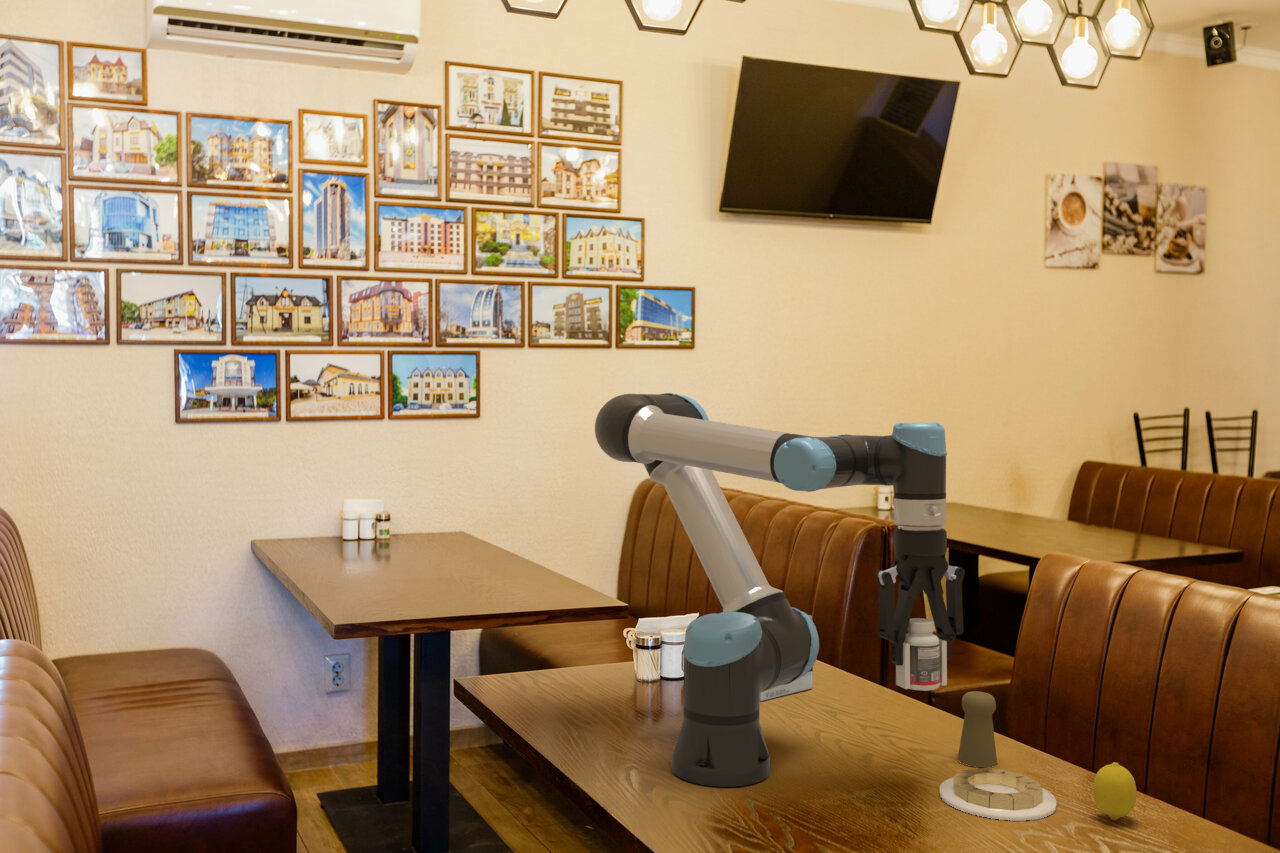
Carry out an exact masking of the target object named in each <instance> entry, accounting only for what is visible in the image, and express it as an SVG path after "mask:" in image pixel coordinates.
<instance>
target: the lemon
mask: <svg viewBox="0 0 1280 853" xmlns="http://www.w3.org/2000/svg"><path fill="white" fill-rule="evenodd" d="M1137 794H1138V793H1137V786H1136V781H1135V778H1134V777H1133V775H1132V774H1131V772H1130V771H1129V770H1128V769H1127V768H1126V767H1124V766H1122V765H1120V764H1119V762H1115V761H1113V762H1112V763H1111V764H1106V765H1104V766H1103V767H1101V768H1100V769H1099V770H1098V771H1097V773H1096V775H1095V776H1094V780H1093V784H1092V795H1093V800H1094V801H1095V805H1096V806H1097V808H1098V809H1099V810H1100V812H1102V813H1103V814H1105V815H1107V816H1108V817H1109V818H1110V819H1111V820H1112V821H1118V819H1119V818H1121V817H1125V816H1127V815H1129V814H1130V813H1131V812H1132V811H1133V809H1134V808H1135V806H1136V802H1137Z"/></svg>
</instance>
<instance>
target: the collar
mask: <svg viewBox="0 0 1280 853" xmlns="http://www.w3.org/2000/svg"><path fill="white" fill-rule="evenodd" d="M952 778H953V788H954V794H955V795H957V796H958V797H960V798H962V799H963V800H965V801H966V802H969V803H972V804H976V805H980V806H983V807H987V808H993V809H1004V810H1021V809H1029V808H1034V807H1035V806H1037V805H1039V804H1040V803H1042V802H1043V790H1042V788H1043V787H1042V784H1041V782H1039V781H1037V780H1035V779H1033V778H1031V777H1030V776H1028V775H1025V774H1021V773H1017V772H1013V771H1008V770H1006V769H995V768H973V769H972V768H971V769H964V770H961V771H959V772H958V773H956V774H954V775H953V777H952ZM980 784H995V785H1004V786H1007V787H1011V788H1015V789H1017V790H1019V791H1021V792H1017V793H997V792H990V791H986V790H982V789H979V788H976V787H975V786H974V785H980Z"/></svg>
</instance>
